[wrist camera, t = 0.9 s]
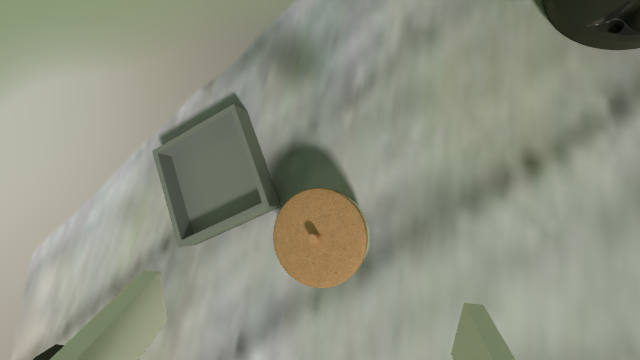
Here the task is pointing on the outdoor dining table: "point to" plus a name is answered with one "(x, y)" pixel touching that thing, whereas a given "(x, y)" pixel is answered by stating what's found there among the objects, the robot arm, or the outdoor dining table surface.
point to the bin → (214, 177)
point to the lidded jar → (321, 237)
